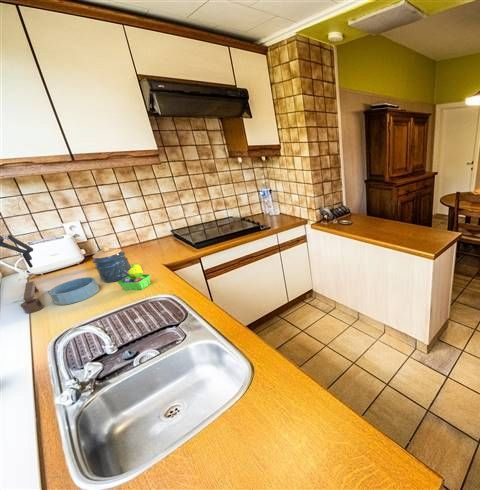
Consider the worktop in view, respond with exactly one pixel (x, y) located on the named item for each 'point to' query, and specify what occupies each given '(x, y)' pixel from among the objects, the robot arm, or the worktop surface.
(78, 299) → the bowl
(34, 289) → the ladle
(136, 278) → the fruit basket
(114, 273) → the canister
